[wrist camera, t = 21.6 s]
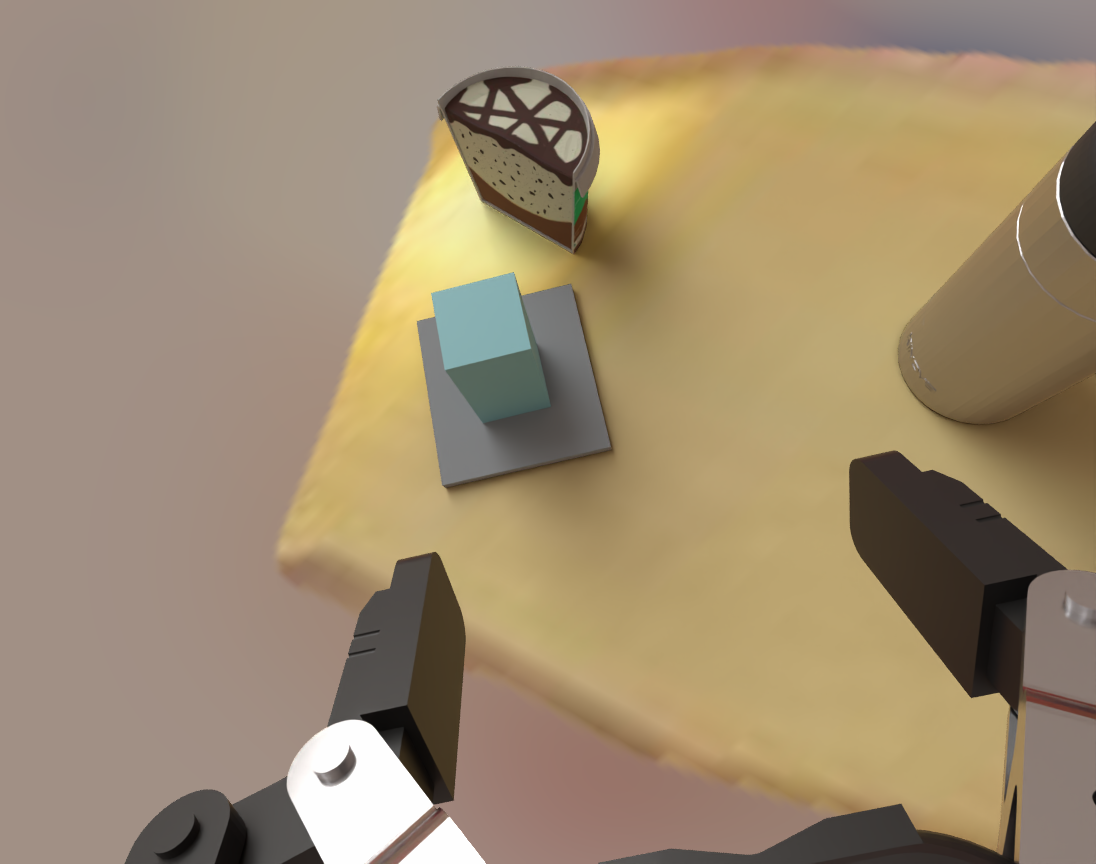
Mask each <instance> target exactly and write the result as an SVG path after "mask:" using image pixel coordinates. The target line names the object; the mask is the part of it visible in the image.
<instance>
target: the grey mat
mask: <svg viewBox="0 0 1096 864" xmlns="http://www.w3.org/2000/svg"><path fill="white" fill-rule="evenodd" d="M522 299H523V303H524V306H525V309H526V312H527V315H528V318H529V321H530V324H531V328H532V331H533V334H534V337H535V340H536V343H537V347H538V352H539V356H540V360H541V365H542V369H543V374H544V378H545V382H546V387H547V391H548V395H549V400H550V404H551V407H548V408H544V409H540V410H535V411H531V412H527V413H523V414H519V415H515V416H511V417H507V418H503V419H498V420H494V421H490V422H486V423H482V421H481V420H480V419H479V417H478V416H477V414H476V413H475V412H474V410H473V409H472V407H471V406H470V405H469V403H468V402H467V400H466V399H465V398H464V396H463V395H462V393H461V392H460V391H459V389H458V388H457V386H456V385H455V384H454V382H453V381H452V379H451V378H450V377H449V375H448V374H447V372H446V371H445V368H444V363H443V357H442V351H441V346H440V340H439V334H438V329H437V323H436V317H433V318H428V319H424V320H420V321H417V326H418V332H419V339H420V345H421V352H422V358H423V365H424V371H425V377H426V384H427V390H428V397H429V403H430V410H431V416H432V422H433V429H434V435H435V442H436V448H437V454H438V461H439V467H440V474H441V480H442V485H443V486H444V487H445V488H446V487H451V486H455V485H459V484H464V483H468V482H472V481H477V480H481V479H486V478H490V477H494V476H499V475H503V474H507V473H512V472H516V471H520V470H525V469H529V468H534V467H538V466H542V465H547V464H551V463H555V462H560V461H564V460H569V459H573V458H577V457H582V456H586V455H590V454H595V453H599V452H604V451H608V450H611V445H610V441H609V437H608V433H607V429H606V425H605V421H604V417H603V412H602V408H601V404H600V400H599V396H598V392H597V388H596V384H595V380H594V376H593V372H592V367H591V363H590V359H589V355H588V351H587V347H586V343H585V339H584V335H583V331H582V327H581V322H580V318H579V314H578V310H577V306H576V302H575V298H574V294H573V290H572V286H571V284H568V285H564V286H560V287H556V288H552V289H548V290H543V291H539V292H535V293H531V294H527V295H523V296H522Z"/></svg>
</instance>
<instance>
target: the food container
mask: <svg viewBox="0 0 1096 864" xmlns="http://www.w3.org/2000/svg"><path fill="white" fill-rule="evenodd" d="M437 108H438V113H439V118H440V120H441V121H442V120H443V119H444V118H445V120H446V123H447V125H448V127H449V129H450V132H451V134H452V136H453V139H454V141H455V143H456V145H457V148H458V150H459V152H460V155H461V157H462V159H463V161H464V164H465V166H466V168H467V170H468V173H469V175H470V177H471V180H472V182H473V184H474V186H475V189H476V191H477V193H478V196H479V198H480V200H481V201H482V202H484V203H486V204H487V205H489V206H491V207H492V208H494V209H496V210H498V211H499V212H501V213H503V214H505V215H506V216H508V217H510V218H511V219H513V220H515V221H517V222H518V223H520V224H522V225H524V226H525V227H527V228H529V229H531V230H532V231H534V232H536V233H537V234H539V235H541V236H543V237H544V238H546V239H548V240H550V241H551V242H553V243H555V244H557V245H558V246H560V247H562V248H563V249H565V250H567V251H569V252H570V253H572V254H575V252H576V251H577V249H578V247H579V246H580V244H581V243H582V239H583V236H584V233H585V229H586V224H587V204H588V189H589V188H590V186H591V184H592V182H593V180H594V177H595V175H596V172H597V168H598V164H599V155H600V147H599V138H598V135H597V132H596V129H595V126H594V123H593V120H592V117H591V115H590V112H589V110H588V109H587V107H586V105H585V103H584V102H583V101H582V99H581V98H580V97H579V95H578V94H577V93H576V92H575V91H574V89H573V88H572V87H571V86H569V85H568V84H567V83H566V82H565V81H563V80H562V79H560V78H558V77H556V76H555V75H553V74H550V73H548V72H545V71H543V70H539V69H535V68H531V67H521V66H512V67H511V66H508V67H500V68H493V69H489V70H486V71H482V72H478V73H476V74H474V75H471V76H469V77H467V78H465V79H463V80H462V81H460V82H458V83H456V84H455V85H454V86H452V87H451V88H450V89H448V90H447V91H446V92H445V93H444V94H443V95H442V96H441V97H440V98H439V99H438V105H437Z"/></svg>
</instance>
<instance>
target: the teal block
mask: <svg viewBox="0 0 1096 864" xmlns="http://www.w3.org/2000/svg"><path fill="white" fill-rule="evenodd" d="M431 295H432V300H433V306H434V312H435V317H436V323H437V329H438V334H439V340H440V346H441V351H442V357H443V363H444V368H445V371H446V372H447V374H448V375H449V377H450V378H451V379H452V381H453V382H454V384H455V385H456V386H457V388H458V389H459V391H460V392H461V393H462V395H463V396H464V398H465V399H466V400H467V402H468V403H469V405H470V406H471V407H472V409H473V410H474V412H475V413H476V414H477V416H478V417H479V419H480V420H481V421H482V423H486V422H490V421H494V420H498V419H503V418H507V417H511V416H515V415H519V414H523V413H527V412H531V411H535V410H540V409H544V408H548V407H551V404H550V400H549V395H548V391H547V387H546V382H545V378H544V374H543V369H542V365H541V360H540V356H539V352H538V347H537V343H536V340H535V337H534V334H533V331H532V328H531V324H530V321H529V318H528V315H527V312H526V309H525V306H524V303H523V299H522V296H521V293H520V290H519V287H518V284H517V281H516V278H515V274H514V272H513V273H509V274H505V275H501V276H497V277H493V278H490V279H486V280H482V281H478V282H474V283H470V284H466V285H462V286H458V287H454V288H450V289H446V290H442V291H438V292H434V293H431Z"/></svg>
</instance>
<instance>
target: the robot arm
mask: <svg viewBox="0 0 1096 864" xmlns="http://www.w3.org/2000/svg"><path fill="white" fill-rule="evenodd" d="M898 361H899V365H900V369H901V373H902V376H903V377H904V379H905V381H906V383H907V385H908V387H909V388H910V389H911V391H912V392H913V393H914V394H915V395H916V397H917V398H918V399H919V400H920V401H922V402H923V403H924V404H925V405H926V406H928V407H929V408H930V409H932V410H934V411H935V412H937V413H939V414H941V415H943V416H944V417H947V418H950V419H953V420H956V421H959V422H965V423H972V424H992V423H996V422H1000V421H1005V420H1008V419H1010V418H1012V417H1014V416H1016V415H1018V414H1020V413H1022V412H1024V411H1026V410H1028V409H1030V408H1032V407H1033V406H1035V405H1037V404H1039V403H1041V402H1043V401H1045V400H1047V399H1048V398H1051V397H1053V396H1055V395H1056V394H1058V393H1060V392H1062V391H1064V390H1066V389H1068V388H1070V387H1071V386H1073V385H1075V384H1077V383H1079V382H1081V381H1083V380H1085V379H1086V378H1088V377H1090V376H1092V375H1094V374H1096V122H1095V123H1094V124H1093V125H1092V126H1091V127H1090V128H1089V129H1088V130H1087V131H1086V132H1085V134H1084V135H1083V136H1082V137H1081V138H1080V139H1079V140H1078V141H1077V142H1076V143H1075V145H1074V146H1072V147H1071V149H1070V150H1069V151H1068V152H1067V153H1066V154H1065V155H1064V156H1063V157H1062V158H1061V159H1060V160H1059V161H1058V162H1057V163H1056V165H1055V166H1054V167H1053V168H1052V169H1051V170H1050V171H1049V172H1048V173H1047V174H1046V175H1045V176H1044V177H1043V178H1042V180H1041V181H1040V182H1039V183H1038V184H1037V185H1036V186H1035V187H1034V188H1033V189H1032V191H1031V192H1030V193H1029V194H1028V195H1027V196H1026V197H1025V198H1024V199H1023V200H1022V201H1021V202H1020V203H1019V205H1018V206H1017V207H1016V208H1015V209H1014V210H1013V211H1012V212H1011V213H1010V214H1009V215H1008V216H1007V217H1006V218H1005V220H1004V221H1003V222H1002V223H1001V224H1000V225H999V226H998V227H997V228H996V229H995V230H994V231H993V232H992V233H991V235H990V236H989V237H988V238H987V239H986V240H985V241H984V242H983V243H982V244H981V245H980V246H979V247H978V248H977V249H976V251H975V252H974V253H973V254H972V255H971V256H970V257H969V258H968V259H967V260H966V261H965V262H964V263H963V264H962V266H961V267H960V268H959V269H958V270H957V271H956V272H955V273H954V274H953V275H952V276H951V277H950V278H949V279H948V280H947V282H946V283H945V284H944V285H943V286H942V287H941V288H940V289H939V290H938V291H937V292H936V293H935V294H934V295H933V296H932V297H931V298H930V300H929V301H928V302H927V303H926V304H925V305H924V306H923V307H922V308H921V309H920V310H919V311H918V312H917V314H916V315H915V316H914V317H913V318H912V319H911V320H910V322H909V323H908V324H907V325H906V327H905V329H904V331H903V333H902V335H901V337H900V342H899V347H898ZM849 488H850V530H851V535H852V539H853V542H854V545H855V547H856V549H857V551H858V553H859V555H860V557H861V558H862V559H863V561H864V562H865V563H866V565H867V566H868V567H869V568H870V570H871V571H872V572H873V573H874V575H875V576H876V577H877V579H878V580H879V581H880V582H881V584H882V585H883V586H884V588H885V589H886V590H887V591H888V593H889V594H890V595H891V596H892V598H893V599H894V600H895V602H896V603H897V604H898V605H899V607H900V608H901V609H902V610H903V612H904V613H905V614H906V616H907V617H908V618H909V619H910V621H911V622H912V623H913V625H914V626H915V627H916V628H917V630H918V631H919V632H920V633H921V635H922V636H923V637H924V639H925V640H926V641H927V642H928V644H929V645H930V646H931V647H932V649H933V650H934V651H935V653H936V654H937V655H938V656H939V658H940V659H941V660H942V661H943V663H944V664H945V665H946V667H947V668H948V669H949V670H950V672H951V673H952V674H953V676H954V677H955V678H956V679H957V681H958V682H959V683H960V684H961V686H962V687H963V688H964V690H965V691H966V692H967V693H968V695H969V696H970V697H971V698H974V697H979V696H984V695H989V694H994V693H1000V694H1001V695H1002V696H1003V698H1004V699H1005V700H1006V701H1007V702H1008V704H1009V711H1008V717H1007V731H1006V745H1005V760H1004V774H1003V789H1002V803H1001V817H1000V828H999V837H998V845H997V852H995V851H993V850H990V849H988V848H986V847H983V846H981V845H978V844H976V843H973V842H971V841H968V840H964V839H961V838H958V837H954V836H951V835H947V834H942V833H937V832H932V831H926V830H916V829H915V827H914V826H913V824H912V822H911V820H910V818H909V817H908V815H907V813H906V811H905V810H904V808H903V806H902V804H898V805H893V806H888V807H883V808H877V809H872V810H867V811H862V812H857V813H852V814H847V815H841V816H836V817H831V818H826V819H824V820H822V821H820V822H818V823H816V824H814V825H812V826H810V827H809V828H807V829H805V830H803V831H801V832H799V833H797V834H795V835H793V836H791V837H790V838H788V839H786V840H784V841H782V842H780V843H778V844H776V845H775V846H773V847H771V848H769V849H767V850H765V851H763V852H761V853H758V854H753V855H742V854H729V853H718V852H717V853H716V852H705V851H693V850H681V849H667V850H663V851H657V852H652V853H647V854H641V855H636V856H632V857H626V858H621V859H616V860H611V861H606V862H600V863H599V864H1096V573H1093V572H1088V571H1080V570H1068V569H1066V568H1065V567H1064V566H1063V565H1061V564H1060V563H1059V562H1058V561H1057V560H1055V559H1054V558H1053V557H1052V556H1051V555H1049V554H1048V553H1047V552H1046V551H1045V550H1043V549H1042V548H1041V547H1040V546H1039V545H1037V544H1036V543H1035V542H1034V541H1032V540H1031V539H1030V538H1029V537H1028V536H1026V535H1025V534H1024V533H1023V532H1022V531H1020V530H1019V529H1018V528H1017V527H1016V526H1014V525H1013V524H1012V523H1011V522H1010V521H1008V520H1007V519H1006V518H1002V517H1001V514H1000V513H999V512H997V511H996V510H995V509H994V508H993V507H991V506H990V505H989V504H988V503H986V504H985V503H984V502H983V499H982V498H981V497H979V496H978V495H977V494H976V493H974V492H973V491H972V490H971V489H970V488H968V487H967V486H966V485H965V484H964V483H962V482H960V481H958V480H956V479H953V478H951V477H948V476H946V475H944V474H941V473H939V472H937V471H934V470H930V471H925V472H921V471H920V470H919V469H918V468H917V467H916V466H914V465H913V464H912V463H911V462H910V461H909V460H908V459H907V458H905V457H904V456H903V455H902V454H901V453H899V452H898V451H889V452H885V453H880V454H876V455H871V456H867V457H863V458H858V459H854V460H852V462H851V464H850V469H849ZM465 642H466V636H465V626H464V621H463V616H462V612H461V609H460V607H459V604H458V601H457V599H456V596H455V594H454V591H453V589H452V586H451V583H450V581H449V578H448V576H447V573H446V571H445V568H444V566H443V563H442V561H441V558H440V556H439V555H438V554H437V553H436V552H432V553H428V554H423V555H419V556H415V557H410V558H406V559H401V560H398V561H397V563H396V566H395V570H394V574H393V578H392V582H391V586H390V589H386V590H382V591H377V592H375V593H374V595H373V596H372V598H371V599H370V600H369V602H368V603H367V604H366V606H365V607H364V608H363V610H362V611H361V612H360V614H359V618H358V621H357V625H356V628H355V632H354V640H352V642H351V646H350V649H349V653H348V654H349V658H347V660H346V663H345V667H344V670H343V674H342V677H341V681H340V684H339V688H338V691H337V695H336V698H335V701H334V705H333V709H332V712H331V716H330V719H329V722H328V726H327V728H325V729H323V730H322V731H320V732H319V733H318V734H316V735H315V736H314V737H313V738H311V739H310V740H309V741H308V742H307V743H306V744H305V745H304V746H303V747H302V749H301V750H300V751H299V753H298V754H297V756H296V757H295V759H294V760H293V762H292V765H291V767H290V769H289V773H288V776H286V777H285V778H283V779H281V780H280V781H278V782H276V783H274V784H272V785H270V786H268V787H266V788H264V789H262V790H261V791H258V792H256V793H254V794H252V795H251V796H248V797H247V798H245V799H243V800H241V801H239V802H237V803H235V804H233V805H232V804H231V803H230V802H229V800H228V799H227V798H226V797H225V796H224V794H222V793H221V792H218V791H215V790H200V791H196V792H193V793H190V794H188V795H186V796H184V797H181V798H180V799H178V800H176V801H175V802H173V803H171V804H170V805H169V806H167V807H166V808H165V809H163V810H162V811H161V812H160V813H159V814H158V815H157V816H155V818H154V819H153V820H152V821H151V822H150V823H149V824H148V825H147V826H146V827H145V829H144V830H143V831H142V832H141V834H140V835H139V837H138V838H137V840H136V841H135V843H134V845H133V847H132V849H131V851H130V853H129V855H128V857H127V859H126V862H125V864H486V863H485V862H484V861H483V860H482V859H481V857H480V856H479V854H478V853H477V852H476V851H475V849H474V848H473V847H472V845H471V844H470V843H469V842H468V840H467V839H466V838H465V836H464V835H463V834H462V832H461V831H460V830H459V829H458V827H457V826H456V825H455V823H454V822H453V821H452V820H451V818H450V817H449V816H448V815H447V814H446V812H445V811H443V809H441V808H440V807H439V808H438V809H436V808H435V807H434V804H439V803H444V802H449V801H453V800H454V789H455V776H456V762H457V749H458V736H459V723H460V709H461V696H462V683H463V669H464V656H465Z"/></svg>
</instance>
